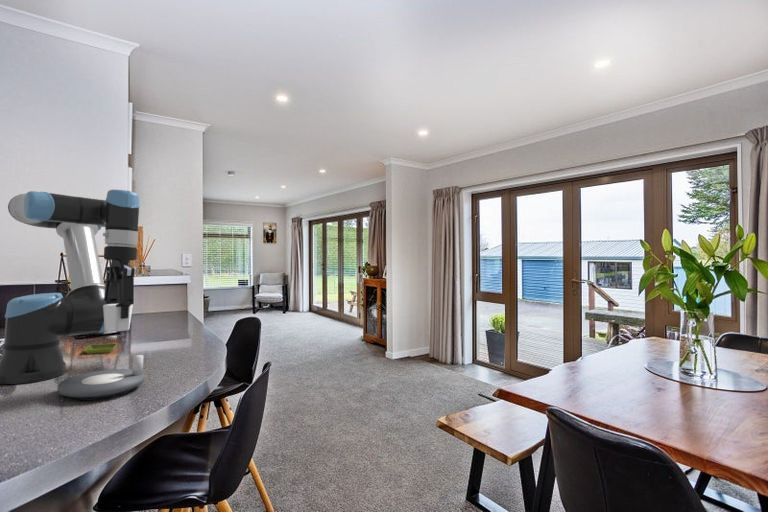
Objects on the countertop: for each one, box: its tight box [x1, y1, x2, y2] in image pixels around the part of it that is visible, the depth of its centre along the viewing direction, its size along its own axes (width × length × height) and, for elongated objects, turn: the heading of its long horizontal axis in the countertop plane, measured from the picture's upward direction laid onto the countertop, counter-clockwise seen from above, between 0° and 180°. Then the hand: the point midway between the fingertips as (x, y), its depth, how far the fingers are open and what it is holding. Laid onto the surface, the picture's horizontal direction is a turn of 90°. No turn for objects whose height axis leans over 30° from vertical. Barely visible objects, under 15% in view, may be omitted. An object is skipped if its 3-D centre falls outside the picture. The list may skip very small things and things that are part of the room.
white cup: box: [103, 303, 134, 332], centre depth 104 cm, size 7×7×7 cm
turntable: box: [57, 354, 145, 398], centre depth 98 cm, size 18×18×6 cm
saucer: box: [83, 343, 118, 355], centre depth 137 cm, size 9×9×2 cm
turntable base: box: [71, 389, 132, 401], centre depth 98 cm, size 13×13×1 cm
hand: (117, 328), depth 104 cm, fingers closed on white cup, 7 cm apart
